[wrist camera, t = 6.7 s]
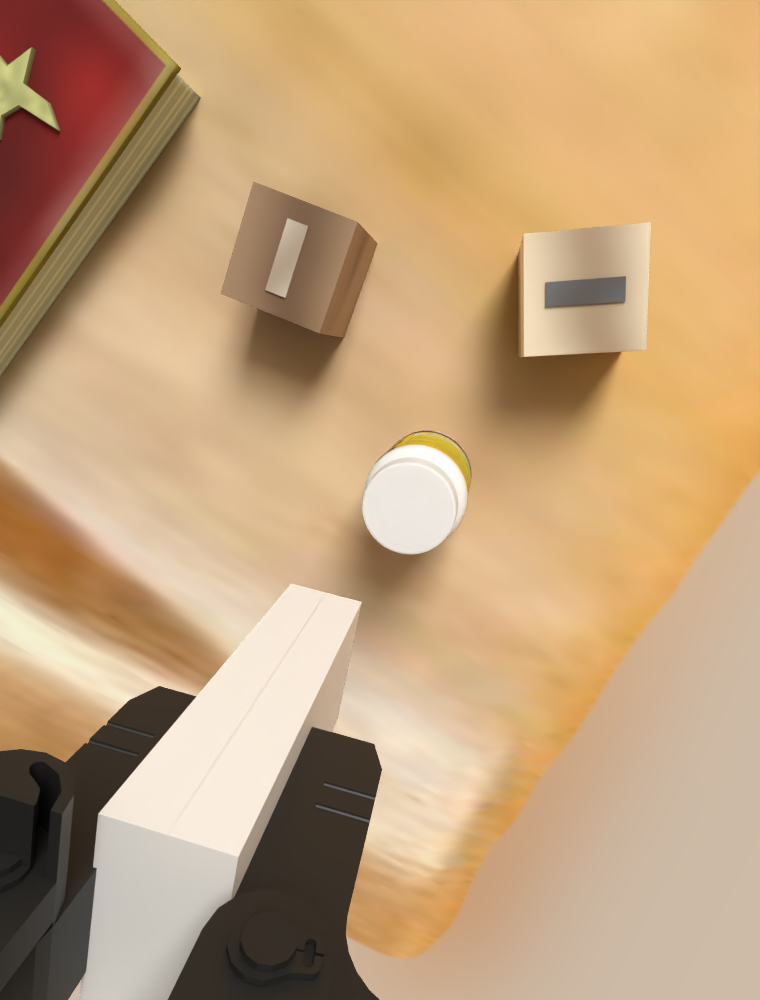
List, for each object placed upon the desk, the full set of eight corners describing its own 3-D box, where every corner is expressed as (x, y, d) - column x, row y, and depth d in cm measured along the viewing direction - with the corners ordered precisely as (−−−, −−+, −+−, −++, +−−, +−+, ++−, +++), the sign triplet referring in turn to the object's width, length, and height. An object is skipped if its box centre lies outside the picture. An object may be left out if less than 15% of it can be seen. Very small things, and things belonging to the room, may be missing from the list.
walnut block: (259, 303, 33) (219, 293, 28) (289, 209, 32) (252, 181, 27) (344, 337, 33) (318, 333, 28) (377, 243, 31) (357, 221, 26)
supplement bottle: (399, 418, 33) (370, 436, 25) (483, 444, 33) (482, 471, 25) (374, 500, 34) (340, 543, 26) (455, 527, 34) (445, 578, 26)
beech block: (518, 357, 31) (524, 356, 27) (518, 254, 30) (523, 233, 26) (621, 351, 31) (646, 349, 26) (624, 245, 30) (651, 222, 25)
